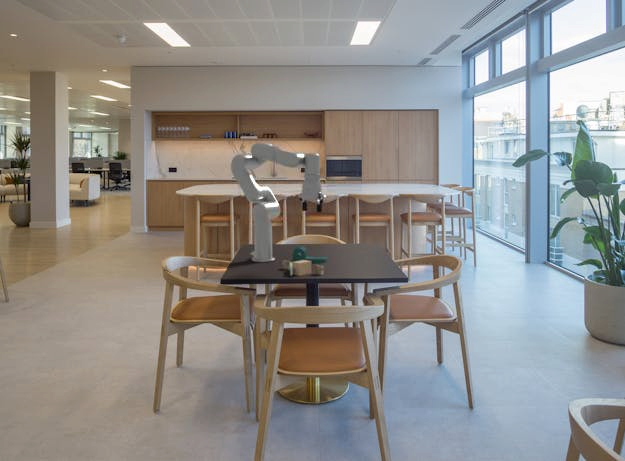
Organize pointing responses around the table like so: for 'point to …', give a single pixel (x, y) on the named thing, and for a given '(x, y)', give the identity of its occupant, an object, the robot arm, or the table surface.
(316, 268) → the oak fence
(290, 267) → the sage gate
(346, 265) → the table surface
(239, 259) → the table surface
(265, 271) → the table surface
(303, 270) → the block
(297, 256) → the bracket
